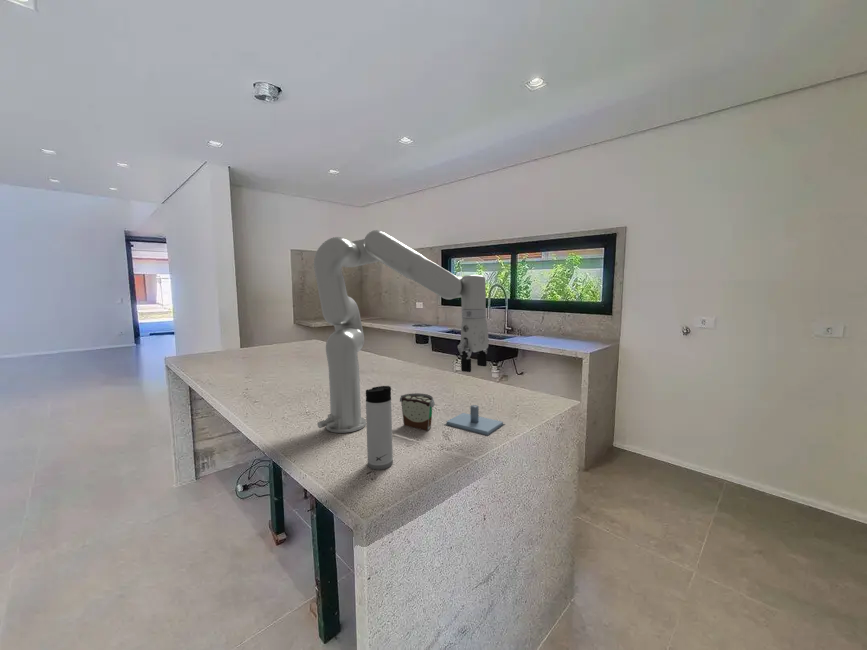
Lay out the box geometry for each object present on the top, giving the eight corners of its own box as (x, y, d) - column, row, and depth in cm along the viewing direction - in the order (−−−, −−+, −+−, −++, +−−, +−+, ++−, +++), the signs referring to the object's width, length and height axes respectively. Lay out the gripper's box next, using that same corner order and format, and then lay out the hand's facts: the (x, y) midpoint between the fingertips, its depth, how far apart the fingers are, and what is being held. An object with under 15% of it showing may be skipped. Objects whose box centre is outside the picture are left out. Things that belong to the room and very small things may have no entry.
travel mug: (383, 472, 86) (380, 391, 84) (362, 466, 89) (360, 387, 88) (398, 462, 91) (397, 385, 89) (379, 456, 95) (376, 382, 93)
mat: (487, 437, 106) (487, 436, 106) (443, 426, 115) (443, 424, 115) (505, 425, 115) (505, 424, 115) (463, 415, 125) (463, 414, 125)
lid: (487, 434, 107) (487, 415, 106) (446, 424, 116) (446, 406, 115) (502, 424, 115) (502, 406, 114) (463, 415, 124) (463, 398, 123)
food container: (442, 426, 115) (442, 396, 114) (432, 433, 110) (431, 401, 109) (411, 419, 122) (410, 390, 121) (400, 425, 116) (399, 395, 115)
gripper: (469, 316, 103) (470, 375, 105) (497, 313, 117) (497, 365, 118) (448, 316, 107) (449, 372, 109) (477, 313, 121) (477, 362, 123)
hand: (474, 368), depth 114 cm, fingers open, 9 cm apart
